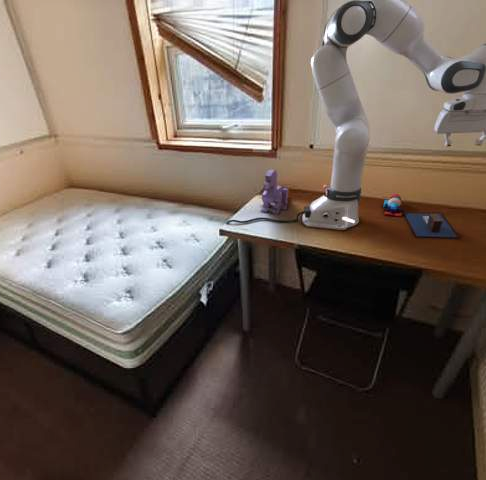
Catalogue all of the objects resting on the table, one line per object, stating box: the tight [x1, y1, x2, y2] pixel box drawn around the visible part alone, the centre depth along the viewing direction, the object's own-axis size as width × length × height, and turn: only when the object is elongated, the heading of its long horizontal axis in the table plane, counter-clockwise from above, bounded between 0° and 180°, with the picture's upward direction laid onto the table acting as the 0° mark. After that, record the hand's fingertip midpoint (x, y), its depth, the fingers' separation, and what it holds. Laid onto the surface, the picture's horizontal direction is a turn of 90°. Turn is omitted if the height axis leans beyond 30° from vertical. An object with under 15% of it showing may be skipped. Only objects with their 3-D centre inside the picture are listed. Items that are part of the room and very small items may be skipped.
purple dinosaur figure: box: [260, 169, 290, 215], centre depth 149 cm, size 12×25×19 cm, turn 149°
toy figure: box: [383, 193, 405, 217], centre depth 140 cm, size 8×5×15 cm
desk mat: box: [404, 212, 459, 239], centre depth 126 cm, size 13×20×1 cm, turn 166°
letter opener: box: [423, 213, 443, 232], centre depth 125 cm, size 13×3×5 cm, turn 166°
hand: (462, 145), depth 117 cm, fingers open, 8 cm apart
